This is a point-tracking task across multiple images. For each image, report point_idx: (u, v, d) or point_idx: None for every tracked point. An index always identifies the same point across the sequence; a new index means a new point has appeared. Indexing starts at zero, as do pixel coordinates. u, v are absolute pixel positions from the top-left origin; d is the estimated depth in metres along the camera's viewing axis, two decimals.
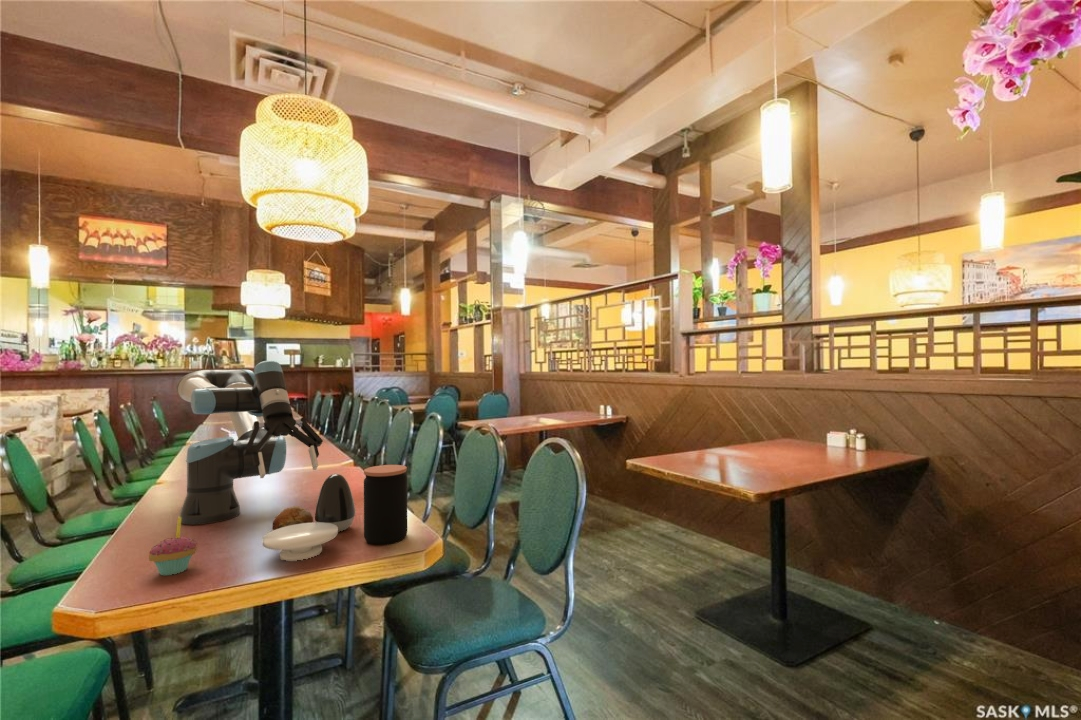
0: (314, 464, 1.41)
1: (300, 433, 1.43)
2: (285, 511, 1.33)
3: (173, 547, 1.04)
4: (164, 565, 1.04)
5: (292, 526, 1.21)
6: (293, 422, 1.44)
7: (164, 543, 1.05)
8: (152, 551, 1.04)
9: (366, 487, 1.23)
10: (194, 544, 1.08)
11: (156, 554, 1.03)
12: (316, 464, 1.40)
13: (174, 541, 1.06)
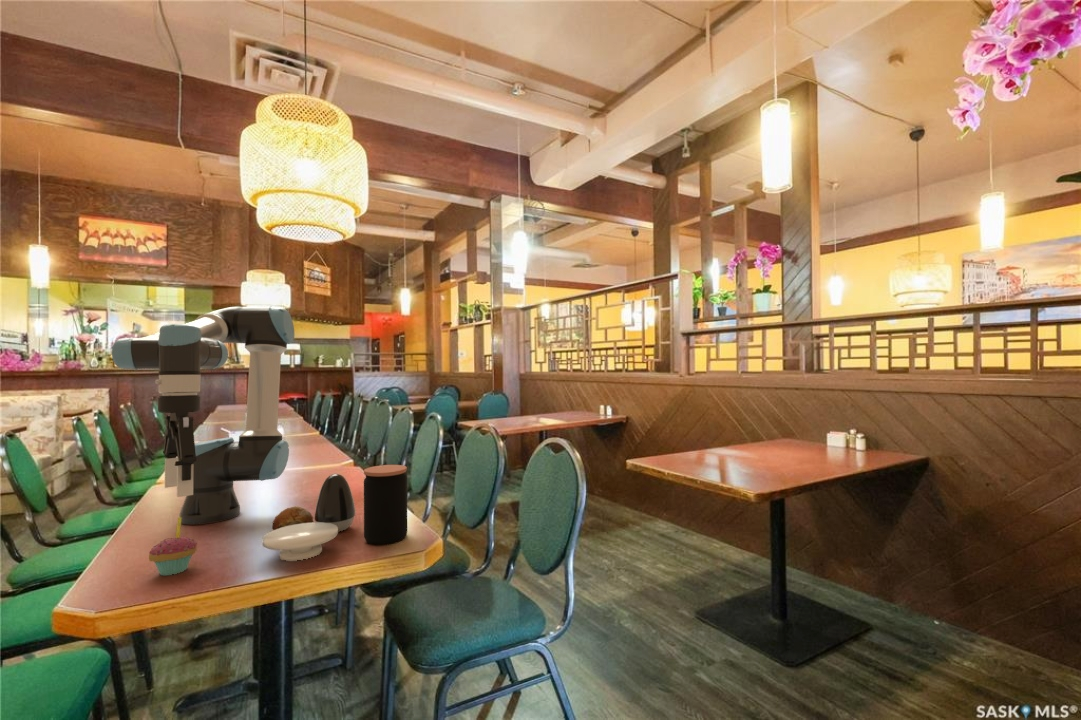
0: None
1: (176, 443, 1.04)
2: (285, 511, 1.33)
3: (173, 547, 1.04)
4: (164, 565, 1.04)
5: (292, 526, 1.21)
6: (176, 424, 1.05)
7: (164, 543, 1.05)
8: (152, 551, 1.04)
9: (366, 487, 1.23)
10: (194, 544, 1.08)
11: (156, 554, 1.03)
12: (177, 495, 1.02)
13: (174, 541, 1.06)
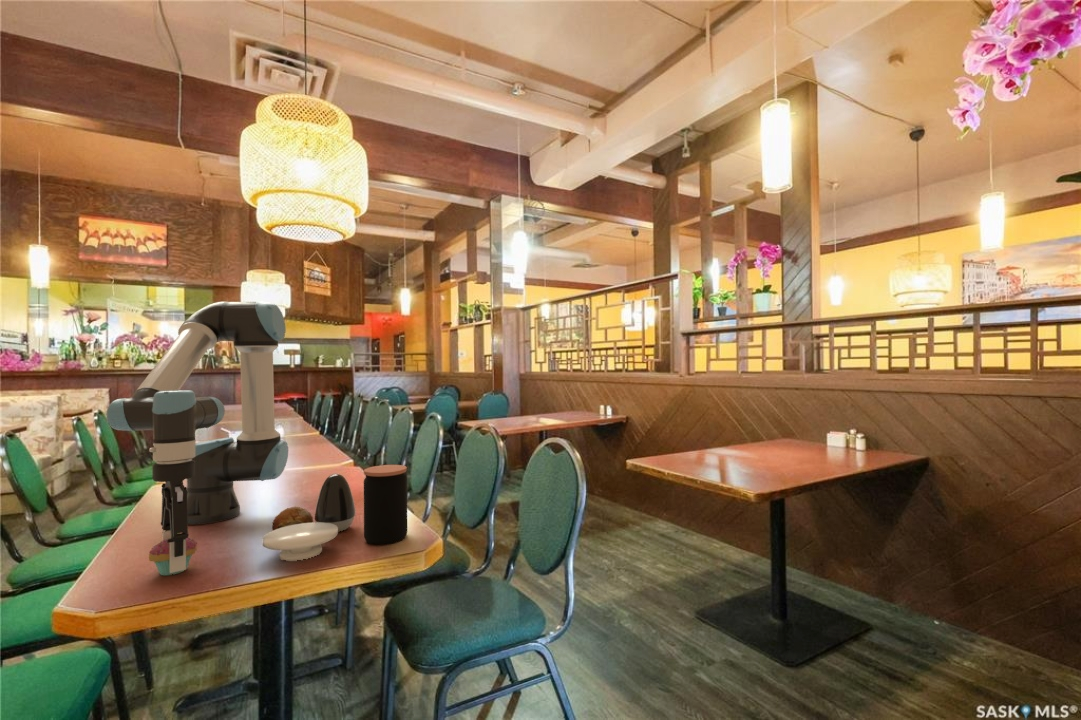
0: None
1: (169, 515, 1.04)
2: (285, 511, 1.33)
3: None
4: (164, 565, 1.04)
5: (292, 526, 1.21)
6: (170, 493, 1.04)
7: (164, 543, 1.05)
8: (152, 551, 1.04)
9: (366, 487, 1.23)
10: (194, 544, 1.08)
11: (156, 554, 1.03)
12: None
13: None
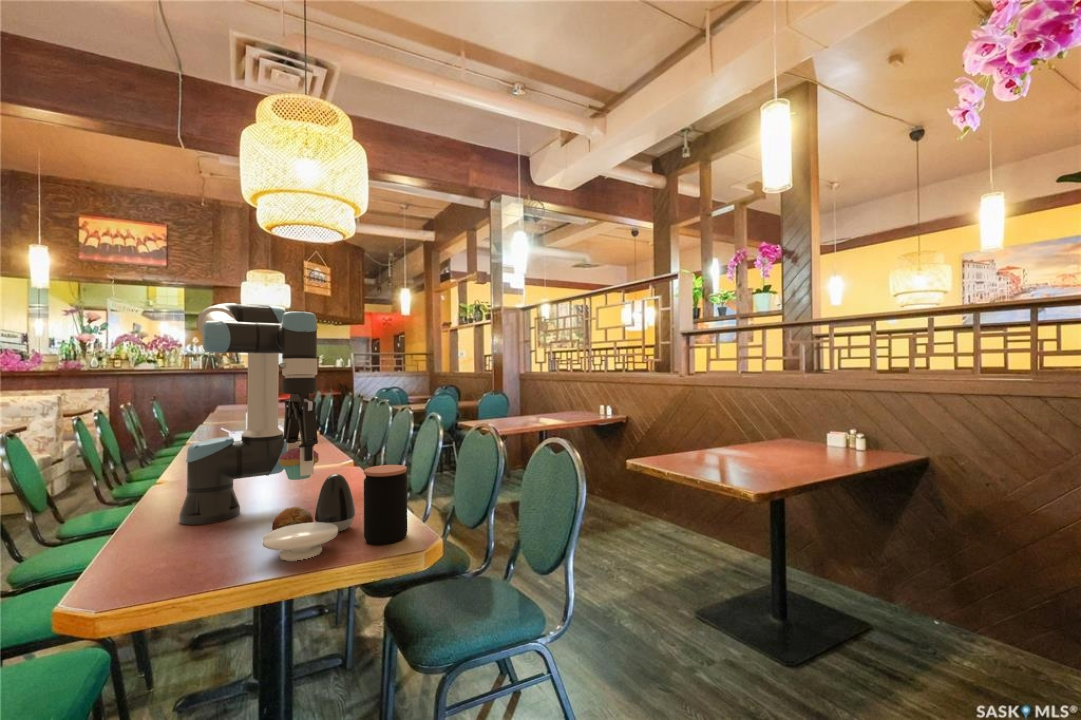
0: None
1: (299, 424, 1.13)
2: (285, 511, 1.33)
3: None
4: (294, 470, 1.13)
5: (292, 526, 1.21)
6: (299, 404, 1.14)
7: (292, 450, 1.15)
8: (283, 457, 1.13)
9: (366, 487, 1.23)
10: (317, 454, 1.18)
11: (287, 459, 1.12)
12: (300, 474, 1.12)
13: None
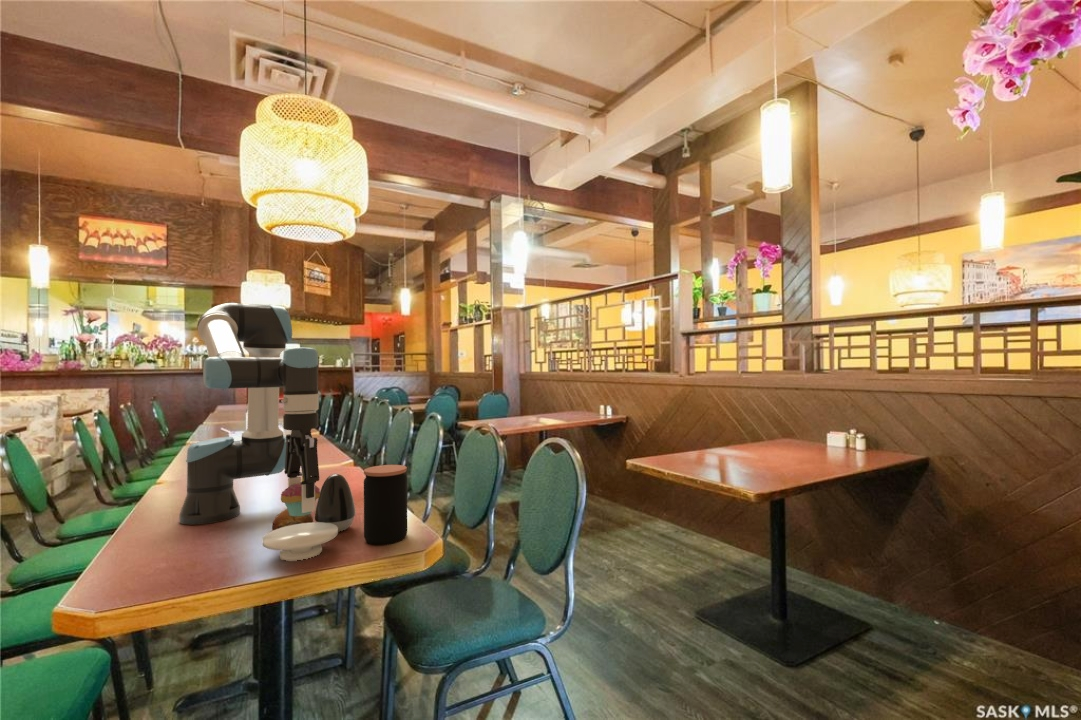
0: None
1: (300, 460, 1.13)
2: (285, 511, 1.33)
3: None
4: (295, 506, 1.13)
5: (292, 526, 1.21)
6: (301, 440, 1.14)
7: (294, 487, 1.15)
8: (284, 493, 1.13)
9: (366, 487, 1.23)
10: (318, 489, 1.17)
11: (289, 496, 1.12)
12: (302, 511, 1.12)
13: None
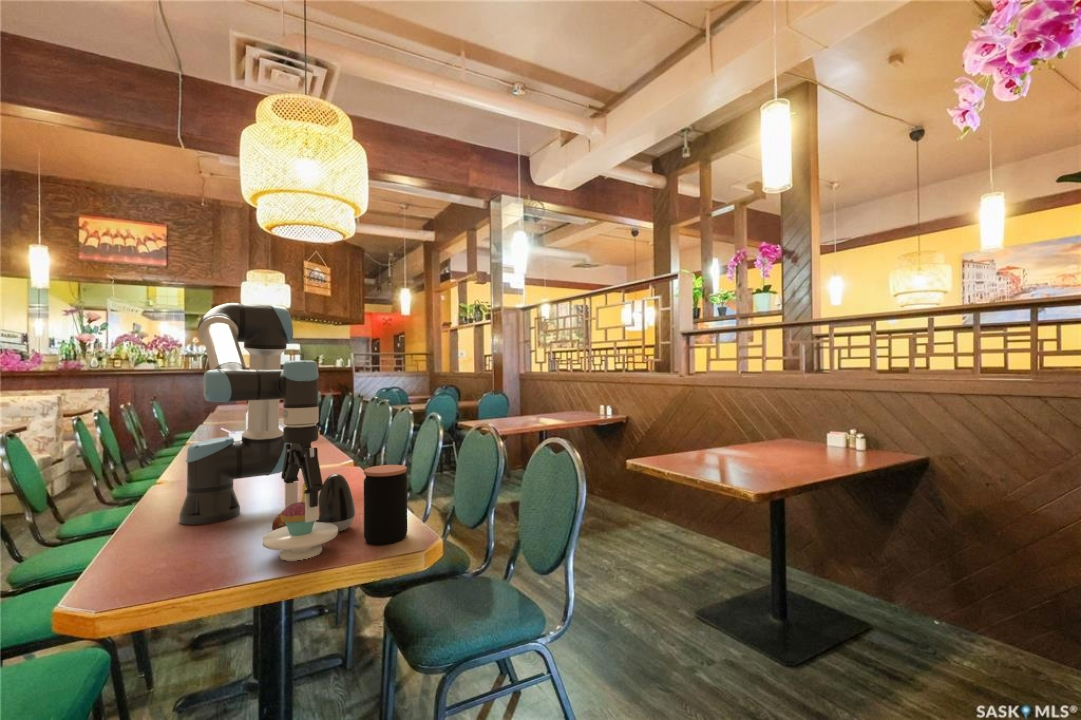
0: None
1: (302, 471, 1.13)
2: None
3: (303, 509, 1.14)
4: (295, 526, 1.13)
5: None
6: (301, 453, 1.14)
7: (294, 506, 1.15)
8: (285, 513, 1.13)
9: (366, 487, 1.23)
10: None
11: (289, 515, 1.12)
12: (305, 520, 1.11)
13: (302, 504, 1.15)
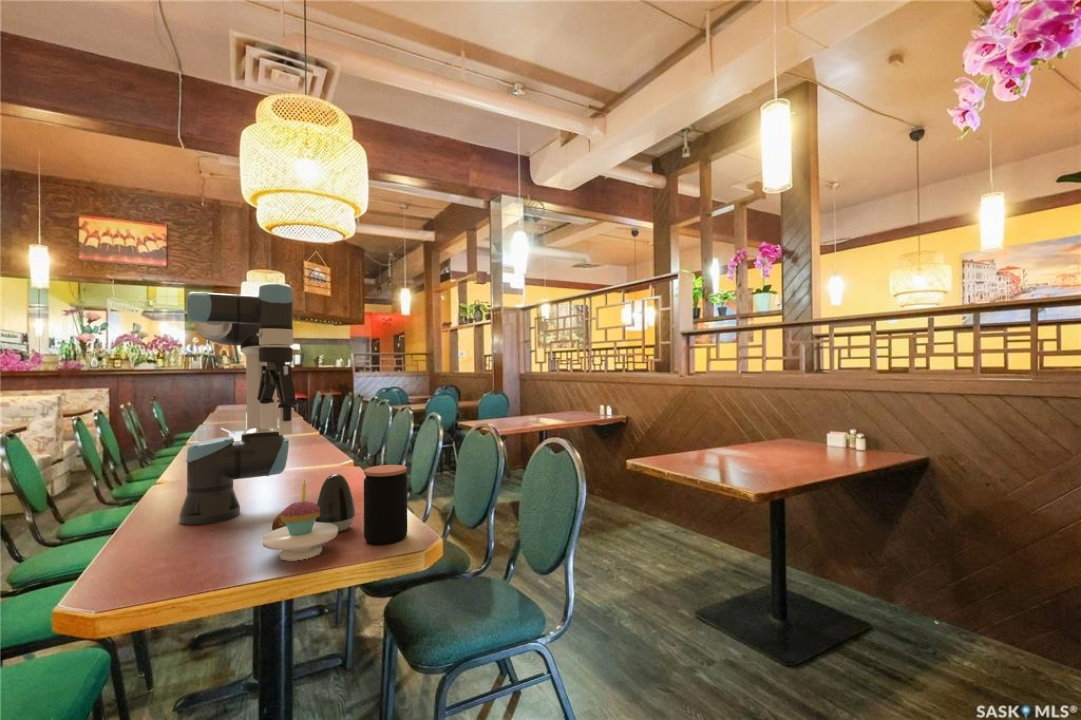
0: None
1: (276, 388, 1.18)
2: None
3: (303, 509, 1.14)
4: (295, 526, 1.13)
5: None
6: (275, 372, 1.19)
7: (294, 506, 1.15)
8: (284, 513, 1.13)
9: (366, 487, 1.23)
10: (318, 508, 1.18)
11: (289, 515, 1.12)
12: (279, 433, 1.17)
13: (302, 504, 1.15)
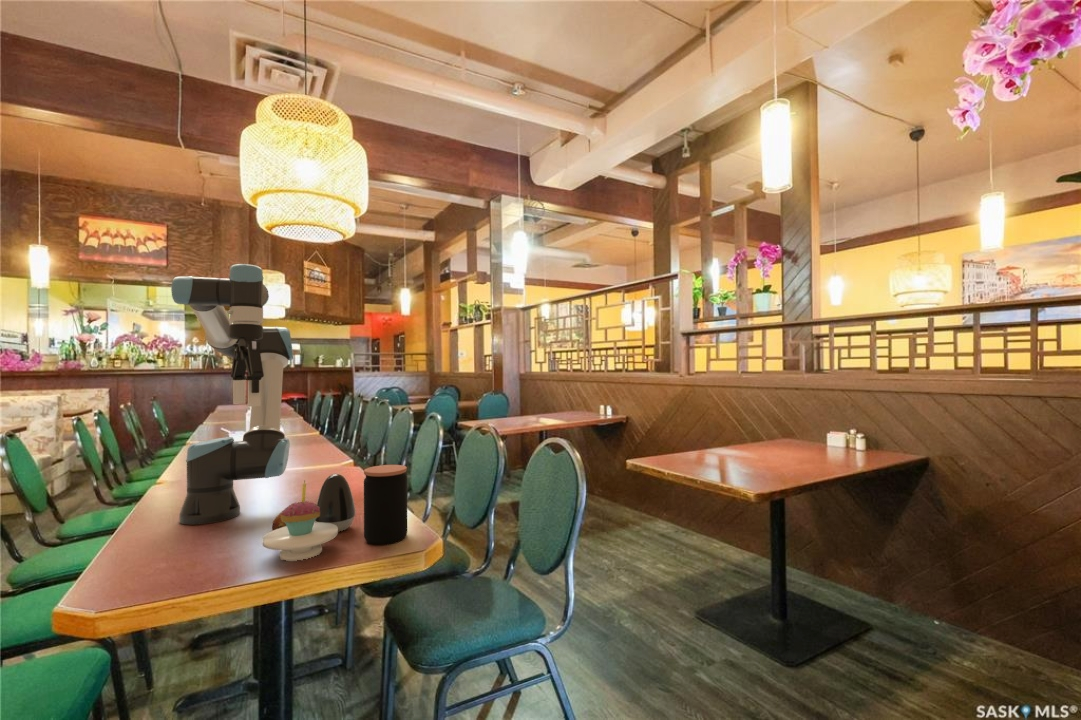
0: None
1: (246, 362, 1.24)
2: None
3: (303, 509, 1.14)
4: (295, 526, 1.13)
5: None
6: (245, 347, 1.25)
7: (294, 506, 1.15)
8: (284, 513, 1.13)
9: (366, 487, 1.23)
10: (318, 508, 1.18)
11: (289, 515, 1.12)
12: (248, 405, 1.23)
13: (302, 504, 1.15)
